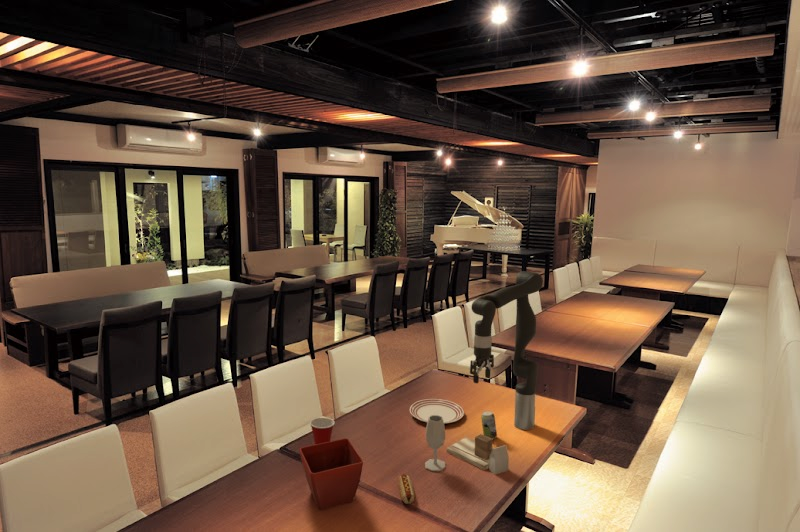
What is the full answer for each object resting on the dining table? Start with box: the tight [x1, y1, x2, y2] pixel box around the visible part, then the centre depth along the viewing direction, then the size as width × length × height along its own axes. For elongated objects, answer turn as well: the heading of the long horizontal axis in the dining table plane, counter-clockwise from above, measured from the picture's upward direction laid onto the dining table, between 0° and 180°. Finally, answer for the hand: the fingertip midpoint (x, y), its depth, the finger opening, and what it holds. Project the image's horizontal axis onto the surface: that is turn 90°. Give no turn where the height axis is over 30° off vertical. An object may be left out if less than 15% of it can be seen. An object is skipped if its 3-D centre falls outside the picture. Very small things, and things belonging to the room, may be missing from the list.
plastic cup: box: [309, 417, 335, 445], centre depth 216 cm, size 11×11×12 cm
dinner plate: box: [409, 398, 465, 425], centre depth 248 cm, size 28×27×3 cm
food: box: [397, 473, 415, 505], centre depth 182 cm, size 14×6×5 cm, turn 8°
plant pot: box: [299, 437, 364, 511], centre depth 180 cm, size 19×19×17 cm
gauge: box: [474, 433, 494, 460], centre depth 206 cm, size 4×8×8 cm, turn 44°
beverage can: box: [480, 410, 498, 440], centre depth 225 cm, size 6×7×12 cm
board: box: [446, 436, 494, 471], centre depth 210 cm, size 14×20×2 cm
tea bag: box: [488, 444, 510, 475], centre depth 198 cm, size 4×7×10 cm, turn 116°
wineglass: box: [424, 415, 446, 472], centre depth 200 cm, size 9×9×21 cm
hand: (481, 380), depth 215 cm, fingers open, 8 cm apart
